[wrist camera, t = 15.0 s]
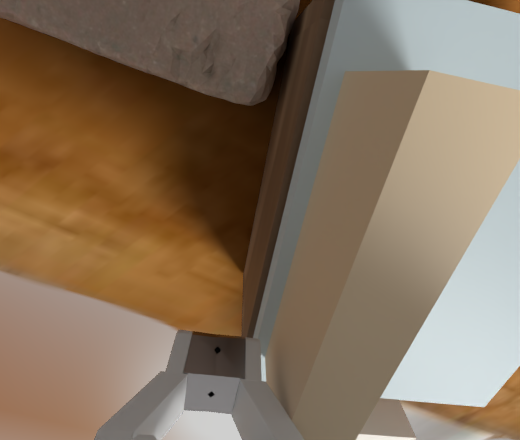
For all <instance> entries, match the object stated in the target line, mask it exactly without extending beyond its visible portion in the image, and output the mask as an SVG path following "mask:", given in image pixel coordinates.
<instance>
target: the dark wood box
mask: <svg viewBox="0 0 520 440" xmlns="http://www.w3.org/2000/svg"><path fill="white" fill-rule="evenodd" d="M334 2H335V0H312V2H311V3H310V4H309V5H308V6H307V7H306V8H305V10H304V11H303V12H302V13H301V14H300V15H299V16H298V18H297V19H296V20H295V21H294V23H293V26H292V30H291V35H290V40H289V45H288V50H287V55H286V61H285V66H284V71H283V76H282V81H281V86H280V91H279V96H278V101H277V106H276V111H275V116H274V122H273V127H272V132H271V137H270V142H269V147H268V152H267V157H266V162H265V167H264V172H263V177H262V182H261V188H260V193H259V198H258V203H257V208H256V213H255V218H254V223H253V228H252V233H251V238H250V243H249V248H248V254H247V259H246V264H245V269H244V274H243V307H242V337H245V338H246V337H247V338H253V335H254V331H255V327H256V323H257V319H258V315H259V311H260V307H261V303H262V298H263V294H264V290H265V286H266V282H267V278H268V274H269V270H270V265H271V261H272V257H273V253H274V249H275V245H276V241H277V237H278V233H279V228H280V224H281V220H282V216H283V212H284V208H285V204H286V200H287V196H288V191H289V187H290V183H291V179H292V175H293V171H294V167H295V163H296V159H297V154H298V150H299V146H300V142H301V138H302V134H303V130H304V126H305V122H306V117H307V113H308V109H309V105H310V101H311V97H312V93H313V89H314V84H315V80H316V76H317V72H318V68H319V64H320V60H321V56H322V52H323V47H324V43H325V39H326V35H327V31H328V27H329V23H330V19H331V15H332V10H333V6H334Z"/></svg>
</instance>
